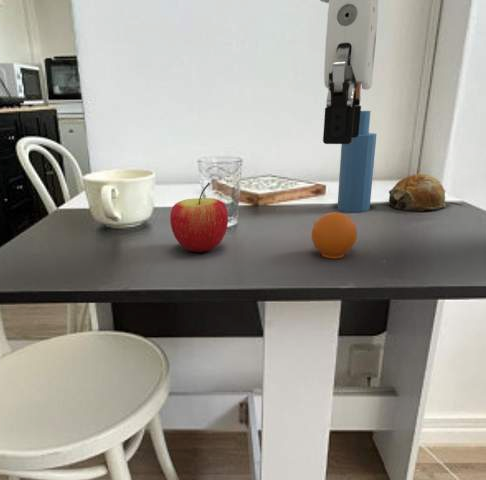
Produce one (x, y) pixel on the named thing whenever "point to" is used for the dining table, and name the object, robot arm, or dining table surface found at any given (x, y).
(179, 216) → the apple
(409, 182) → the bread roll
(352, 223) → the orange
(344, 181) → the bottle
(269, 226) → the dining table surface
